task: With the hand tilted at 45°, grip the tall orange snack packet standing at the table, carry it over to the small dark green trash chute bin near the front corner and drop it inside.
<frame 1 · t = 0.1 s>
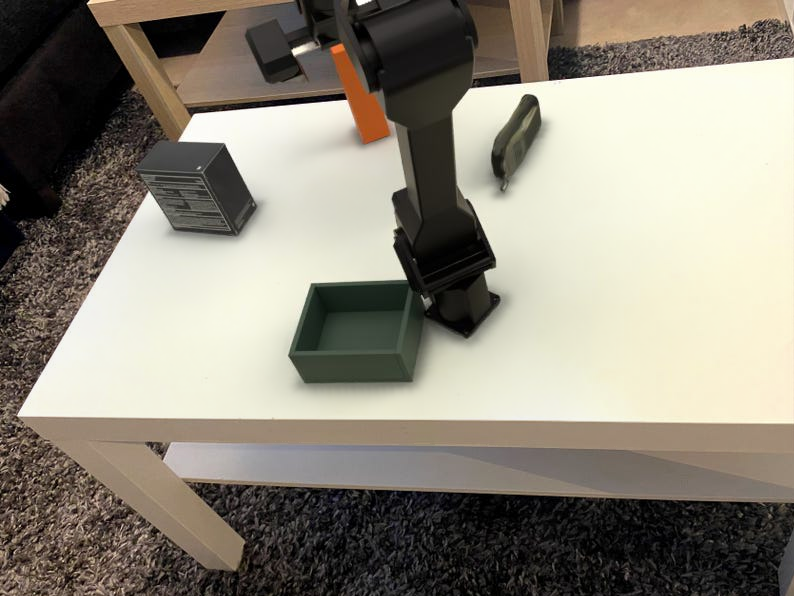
hand: (341, 67, 90), 15 cm above the table, tool tilted 30°, fingers open, 9 cm apart
olive green elongated pouch: (517, 157, 98), on the table
packet: (374, 132, 106), on the table
chute bin: (366, 345, 82), on the table
small box: (217, 218, 100), on the table
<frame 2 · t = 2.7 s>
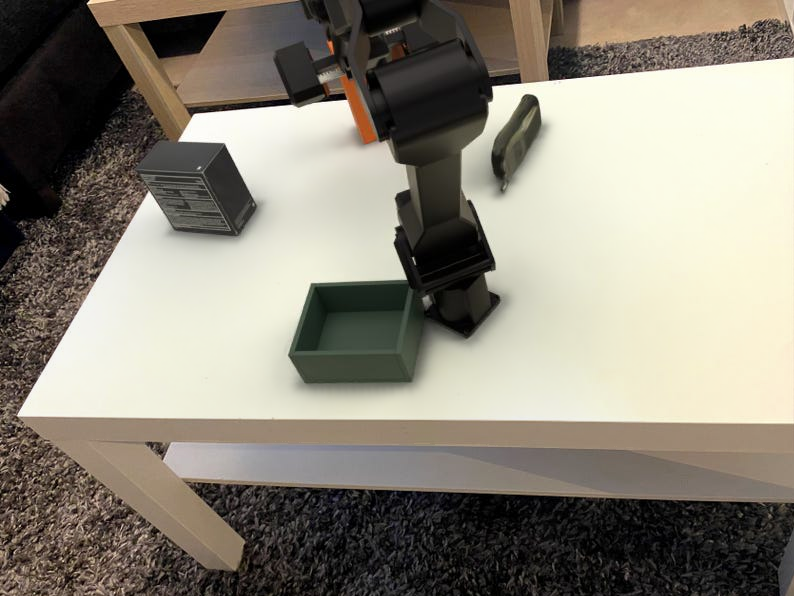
hand: (360, 75, 92), 12 cm above the table, tool tilted 45°, fingers open, 9 cm apart
nothing on the table moved.
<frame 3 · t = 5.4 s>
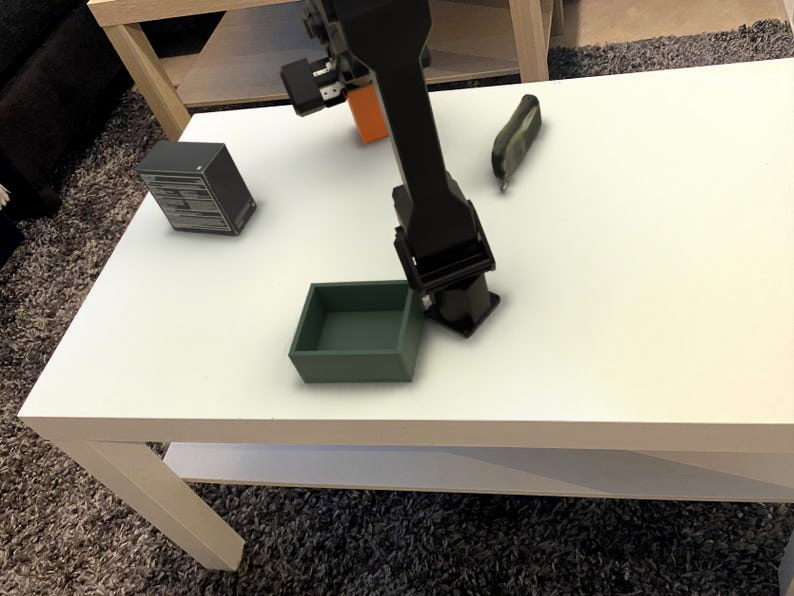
hand: (358, 87, 102), 7 cm above the table, tool tilted 45°, fingers closed on packet, 4 cm apart
packet: (374, 132, 106), on the table, touching gripper
everything else where it was.
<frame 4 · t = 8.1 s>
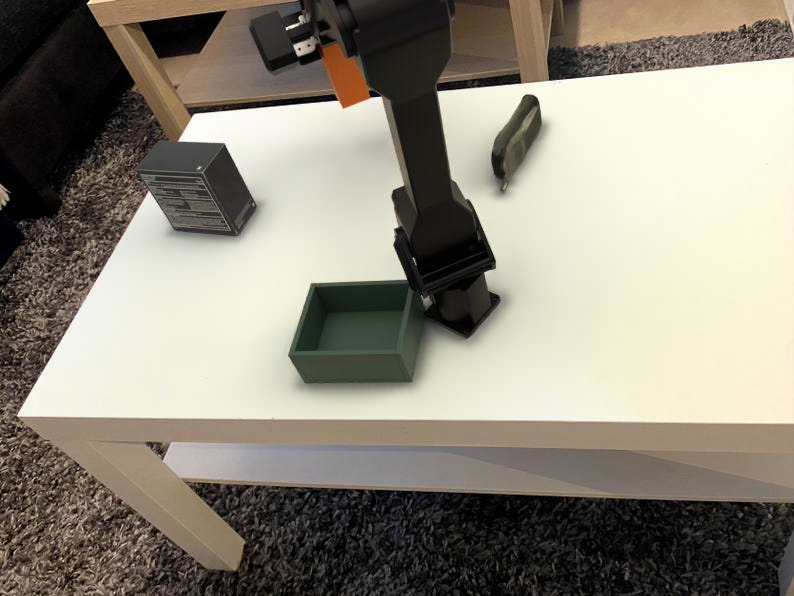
hand: (334, 47, 95), 14 cm above the table, tool tilted 45°, fingers closed on packet, 4 cm apart
packet: (352, 96, 100), point 7 cm above the table, touching gripper
everything else where it was.
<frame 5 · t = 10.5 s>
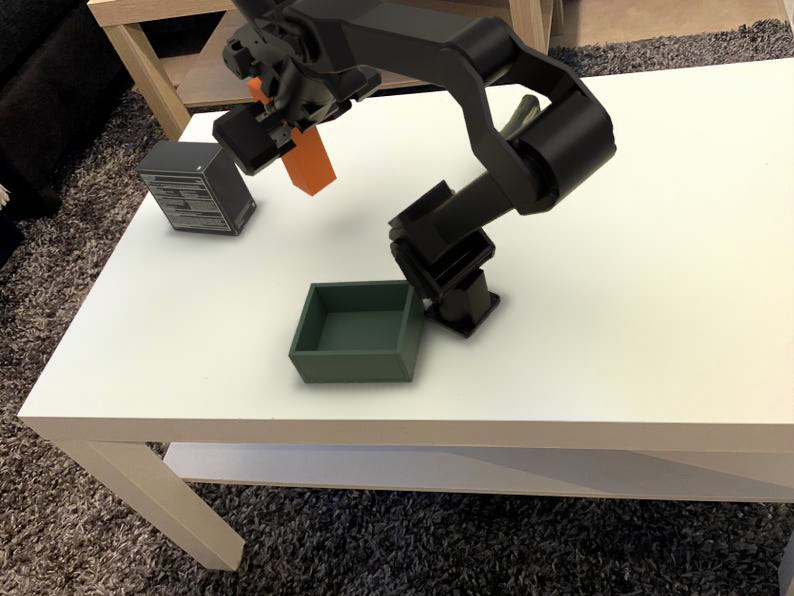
hand: (289, 133, 85), 14 cm above the table, tool tilted 45°, fingers closed on packet, 4 cm apart
packet: (315, 181, 90), point 7 cm above the table, touching gripper
everything else where it was.
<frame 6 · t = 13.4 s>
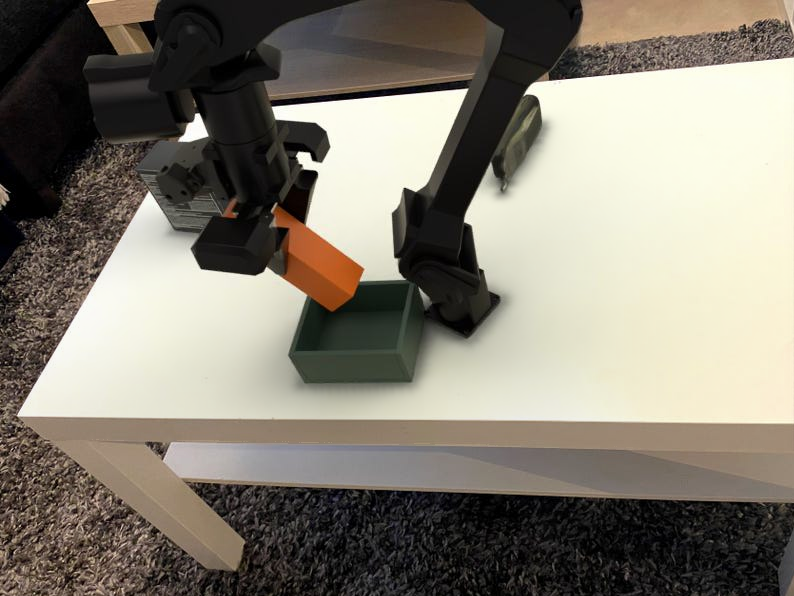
hand: (289, 258, 74), 12 cm above the table, tool pointing down, fingers closed on packet, 4 cm apart
packet: (348, 290, 76), point 8 cm above the table, tilted 39°, touching gripper
everything else where it was.
when the fingers open (9 cm above the table, at t = 15.7 s): packet drops 3 cm and tips over, resting on chute bin.
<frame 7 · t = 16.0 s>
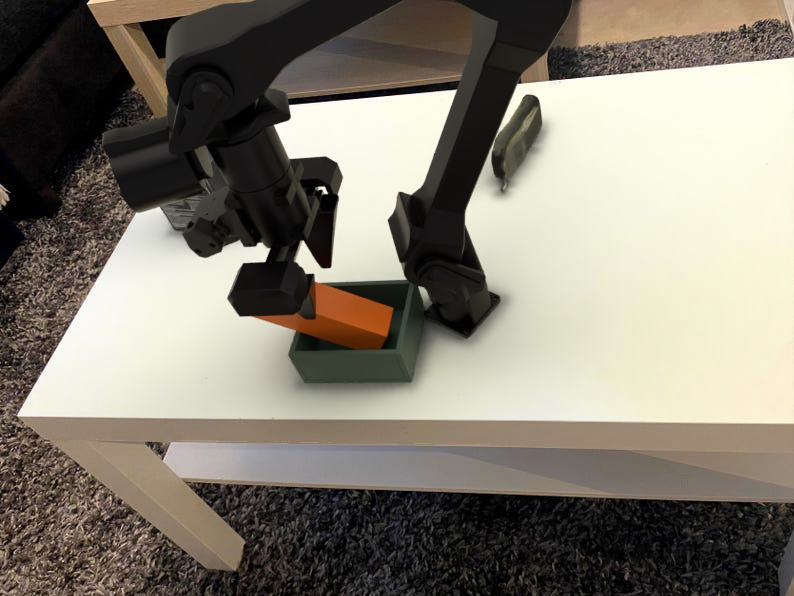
hand: (319, 292, 75), 9 cm above the table, tool pointing down, fingers open, 7 cm apart
packet: (385, 332, 80), point 2 cm above the table, tilted 58°, touching chute bin
everything else where it was.
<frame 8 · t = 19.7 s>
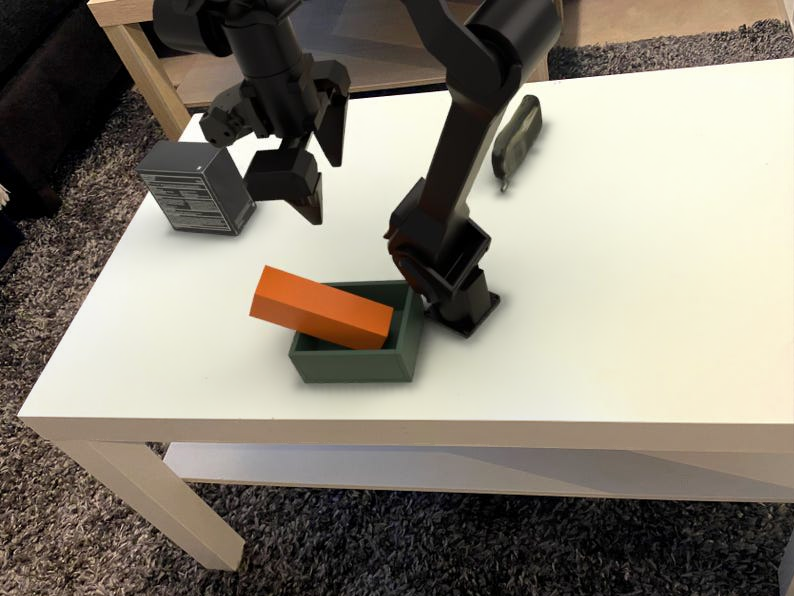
hand: (327, 194, 78), 13 cm above the table, tool pointing down, fingers open, 9 cm apart
nothing on the table moved.
at the end: packet inside the target area in the chute bin (2.8 cm from its centre), point 2.2 cm above the chute bin's base; the gripper is holding nothing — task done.
